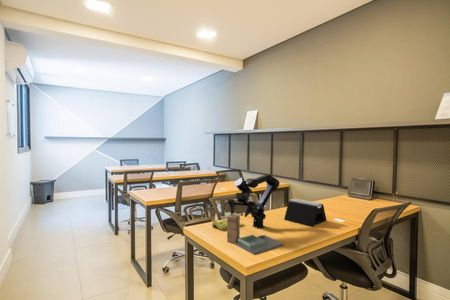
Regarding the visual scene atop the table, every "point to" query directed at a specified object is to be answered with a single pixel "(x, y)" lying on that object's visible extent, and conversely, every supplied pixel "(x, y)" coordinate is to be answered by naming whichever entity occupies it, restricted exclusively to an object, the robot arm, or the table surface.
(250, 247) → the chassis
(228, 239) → the tall wooden pillar
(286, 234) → the table surface
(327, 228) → the table surface
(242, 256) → the table surface
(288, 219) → the device stand
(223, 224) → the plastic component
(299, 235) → the table surface
